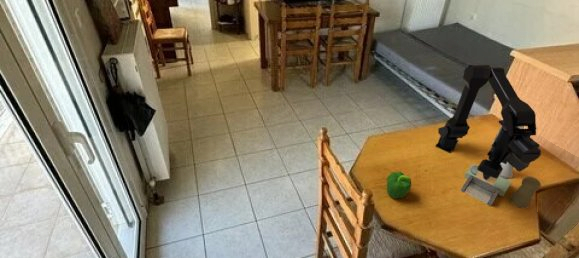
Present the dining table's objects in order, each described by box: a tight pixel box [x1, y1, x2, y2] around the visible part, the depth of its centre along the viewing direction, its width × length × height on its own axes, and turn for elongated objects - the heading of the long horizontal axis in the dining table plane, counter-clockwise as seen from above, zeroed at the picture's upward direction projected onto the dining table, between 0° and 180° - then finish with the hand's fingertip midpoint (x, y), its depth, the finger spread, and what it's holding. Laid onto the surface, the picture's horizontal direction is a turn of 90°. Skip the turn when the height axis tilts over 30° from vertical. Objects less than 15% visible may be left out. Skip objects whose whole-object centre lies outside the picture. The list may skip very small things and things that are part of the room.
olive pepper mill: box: [509, 176, 542, 209], centre depth 110 cm, size 6×6×11 cm
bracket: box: [460, 175, 500, 207], centre depth 116 cm, size 10×8×2 cm
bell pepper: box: [386, 171, 412, 199], centre depth 114 cm, size 8×8×10 cm
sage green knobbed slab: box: [463, 163, 512, 197], centre depth 120 cm, size 14×7×4 cm, turn 46°
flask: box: [500, 162, 514, 179], centre depth 122 cm, size 7×7×10 cm
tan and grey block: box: [476, 171, 502, 185], centre depth 110 cm, size 6×4×6 cm
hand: (487, 175), depth 111 cm, fingers closed on tan and grey block, 4 cm apart
